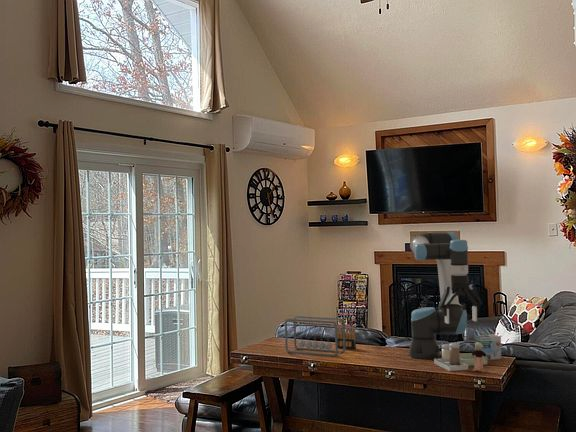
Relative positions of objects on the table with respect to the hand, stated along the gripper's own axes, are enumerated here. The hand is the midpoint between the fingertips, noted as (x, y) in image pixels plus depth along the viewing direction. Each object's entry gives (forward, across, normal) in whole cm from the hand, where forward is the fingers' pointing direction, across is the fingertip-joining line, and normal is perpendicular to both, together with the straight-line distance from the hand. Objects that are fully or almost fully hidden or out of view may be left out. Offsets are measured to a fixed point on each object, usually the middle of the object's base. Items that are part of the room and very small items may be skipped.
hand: (460, 322), depth 282 cm
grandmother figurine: (+21, +5, -6) cm, 22 cm away
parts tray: (+21, +9, +10) cm, 25 cm away
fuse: (+21, -2, +10) cm, 24 cm away
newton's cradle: (+22, -52, +58) cm, 81 cm away
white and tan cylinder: (+21, -2, +2) cm, 21 cm away
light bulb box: (+22, +22, +16) cm, 35 cm away
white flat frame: (+21, -2, +6) cm, 22 cm away
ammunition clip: (+23, -33, +64) cm, 75 cm away
